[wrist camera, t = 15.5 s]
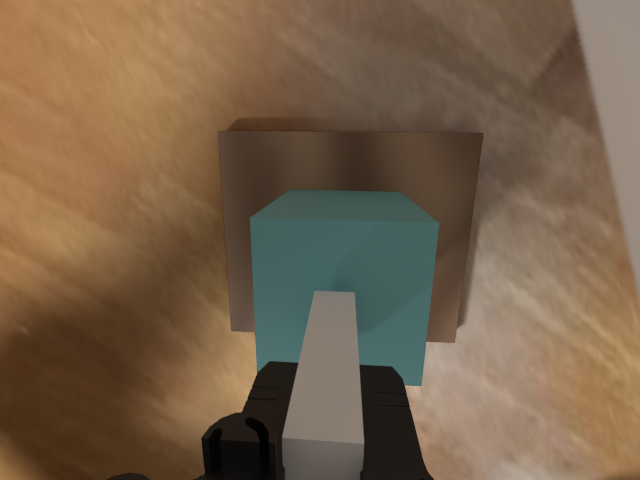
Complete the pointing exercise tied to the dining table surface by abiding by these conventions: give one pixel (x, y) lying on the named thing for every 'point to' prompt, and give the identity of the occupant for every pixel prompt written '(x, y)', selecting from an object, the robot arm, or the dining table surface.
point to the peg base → (352, 175)
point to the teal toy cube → (345, 273)
